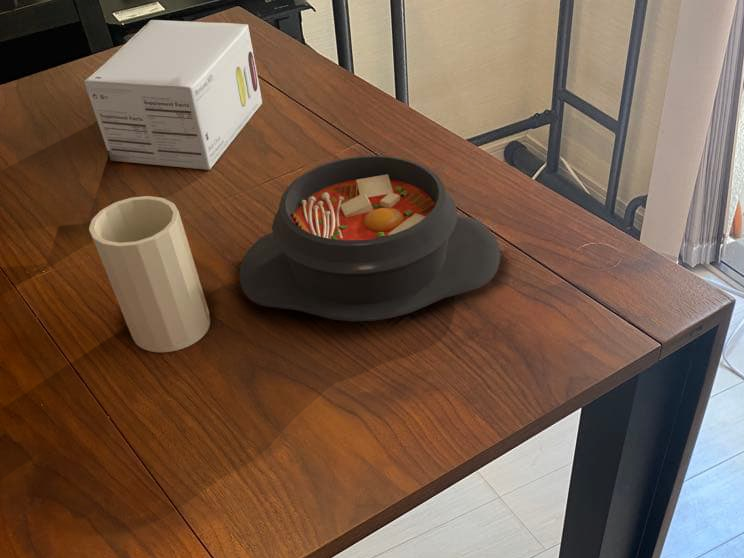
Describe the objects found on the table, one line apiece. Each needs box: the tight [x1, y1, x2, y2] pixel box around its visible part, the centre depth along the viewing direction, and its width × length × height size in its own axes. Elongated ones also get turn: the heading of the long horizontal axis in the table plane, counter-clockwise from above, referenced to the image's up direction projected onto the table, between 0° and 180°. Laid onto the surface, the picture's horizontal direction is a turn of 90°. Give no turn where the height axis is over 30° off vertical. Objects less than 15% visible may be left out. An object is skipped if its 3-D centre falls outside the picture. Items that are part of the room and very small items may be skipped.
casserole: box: [238, 155, 501, 322], centre depth 78 cm, size 25×19×8 cm
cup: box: [88, 195, 211, 353], centre depth 74 cm, size 7×7×11 cm
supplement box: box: [83, 19, 263, 171], centre depth 98 cm, size 17×13×9 cm
